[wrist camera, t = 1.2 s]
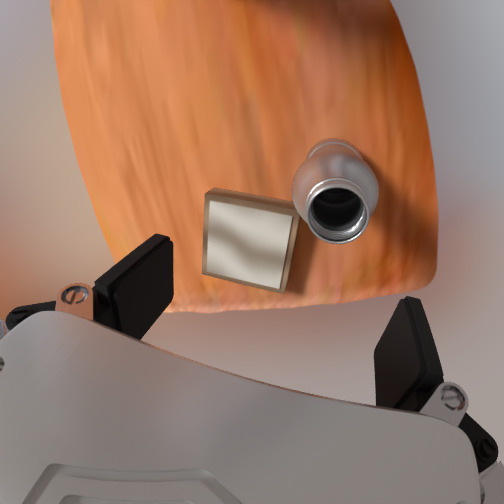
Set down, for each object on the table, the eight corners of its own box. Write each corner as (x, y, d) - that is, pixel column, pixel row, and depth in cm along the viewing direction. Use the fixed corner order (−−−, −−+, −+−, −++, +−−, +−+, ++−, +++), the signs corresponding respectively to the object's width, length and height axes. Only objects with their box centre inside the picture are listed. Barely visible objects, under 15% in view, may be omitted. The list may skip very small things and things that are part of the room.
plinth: (213, 187, 39) (204, 194, 36) (302, 203, 36) (299, 211, 34) (209, 264, 44) (201, 274, 41) (287, 282, 42) (283, 294, 39)
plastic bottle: (363, 186, 33) (395, 263, 16) (310, 190, 35) (286, 268, 18) (358, 135, 31) (393, 155, 13) (303, 139, 33) (270, 165, 16)
